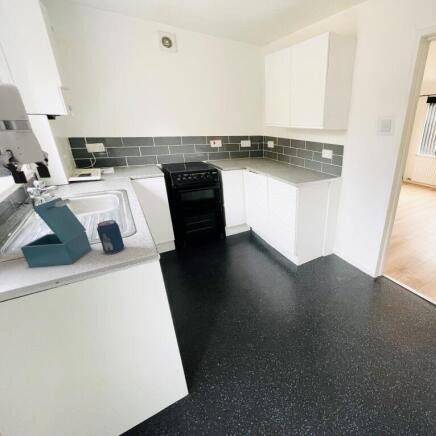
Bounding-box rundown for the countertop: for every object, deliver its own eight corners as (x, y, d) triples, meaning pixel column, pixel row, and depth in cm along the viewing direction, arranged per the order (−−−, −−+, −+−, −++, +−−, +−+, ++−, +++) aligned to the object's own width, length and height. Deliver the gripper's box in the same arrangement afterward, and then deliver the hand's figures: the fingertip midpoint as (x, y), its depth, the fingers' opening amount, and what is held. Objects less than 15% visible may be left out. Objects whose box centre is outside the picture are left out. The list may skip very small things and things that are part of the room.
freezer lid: (32, 207, 80) (47, 201, 80) (58, 198, 91) (72, 192, 91) (63, 243, 86) (77, 237, 86) (84, 230, 97) (97, 225, 97)
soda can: (123, 245, 103) (115, 218, 99) (126, 250, 98) (118, 222, 94) (103, 250, 99) (94, 222, 94) (105, 256, 94) (96, 227, 90)
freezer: (29, 267, 87) (20, 247, 84) (54, 251, 98) (46, 233, 95) (71, 264, 89) (64, 244, 86) (91, 249, 100) (85, 231, 97)
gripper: (24, 127, 85) (42, 176, 91) (-29, 126, 69) (-4, 186, 75) (49, 127, 86) (64, 175, 92) (2, 126, 70) (24, 185, 76)
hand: (34, 180), depth 83 cm, fingers open, 9 cm apart
